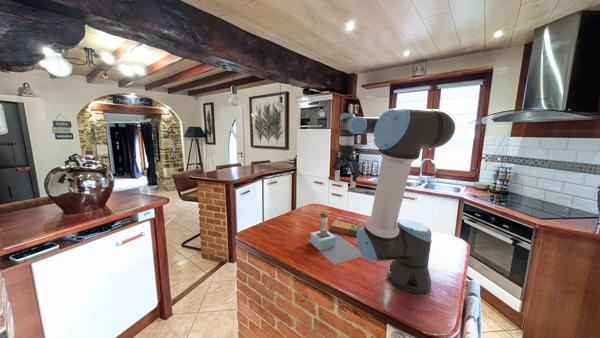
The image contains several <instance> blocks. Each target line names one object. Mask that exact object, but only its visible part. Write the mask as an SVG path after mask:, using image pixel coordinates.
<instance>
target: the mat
mask: <svg viewBox="0 0 600 338" xmlns="http://www.w3.org/2000/svg"><path fill="white" fill-rule="evenodd" d="M332 234H333V235H334V236H335V237H336V246H335V247H331V248H328V249H324V250H319V249H318V248H316V247H315V246H314V245H313V244H312V243H311V238H310V239H307V241H308V242H309V243H310V244H311V245H312V246H313V247H314V248H315V249H316V250H317V251H318V252H320V254H322V255H323V256H324V257H325V258H326V259H327V260H328V261H329V262H330V263H331V264H332V265H333V266H337V265H338V264H342V263H345V262H348V261H351V260H352V261H353V260H355V259H358V258H363V256H362V254H361V252H360V250H359V248H358V247H355V245H353V244H352V243H350V242H349V241H348V240H346V239H344V238H343V237H342V236H341V235H339V234H338V233H337V232H334V233H332Z"/></svg>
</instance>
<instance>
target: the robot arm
mask: <svg viewBox="0 0 600 338" xmlns="http://www.w3.org/2000/svg"><path fill="white" fill-rule="evenodd" d="M455 131H456V122H455V120H454V118H453V116H452V115H451V114H449V112H446V111H444V110H441V109H436V108H411V107H410V108H408V107H407V108H405V107H400V108H389V109H387V110H385V111H384V112H382V114H380V116H379V117H375V116H374V117H373V116H372V117H369V116H368V117H367V116H366V117H365V116H356V115H355V114H354V113H344V114H343V113H341V114H340V117H339V139H338V140H339V141H338V144H339V145H338V152H337V153H335V159H334V161H333V164H332V169H333V170H334V183H340V177H341V176H340V174H341V167H342V166H343V164H344V163H345V164H346V165H348V168H349V171H350V172H351V174H350V186H349V187H350V189H353V188H354V189H355V188H356V186H357V185H356V184H357V183H356V182H357V181H358V180H357V179H358V178H357V177H358V175H361V171H360V167H359V163H358V159H357V154H354V155H353V153H354V148H355V147H354V144H355V135H359V134H370V135H371V134H373V138H374V139H373V141H374V145H375V146H376V147H377V148H378V153H379V155H380V156H381V162H380V168H379V173H378V178H377V183H376V187H375V188H376V189H375V192H374V199H373V203H372V209H371V214H370V217H369V218H367V219H366V220H365V221H364V222H365V223H364V227H361V228H359V229H358V230H357V236H356V243H357V245H358V247H357V248H358V249H359V250H360V252H361V254H362V258H363V259H364V260H365V261H368V262H380V261H381V262H384V261H391V263H390V265H389V267H388V270H387V278H388V280H389V282H390V283H391V284H393V286H395V287H396V288H397V289H400V290H401V291H404V292H406V293H409V294H414V295H422V294H423V295H424V294H427V293H429V292H430V291H431V290H432V283H433V282H432V278H431V274H430V270H429V261H430V253H431V246H432V242H433V241H432V231H431V230H430V228H429V227H427V226H426V225H424V224H422V223H420V222H416V221H413V220H408V219H399V217H400V216H399V215H400V213H401V208H402V203H403V199H404V195H405V190H406V186H407V183H408V181H409V175H410V171H411V167H412V163H413V162H414V161H417V160H418V159H419V158H420V154H421V152H422V150H423V149H424V150H425V149H427V150H428V149H436V148H440V147H442V146H444V145H446V144H447V143H448V142H449V141H451V140H452V138H453V136H454V134H455Z"/></svg>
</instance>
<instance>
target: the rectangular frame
mask: <svg viewBox="0 0 600 338" xmlns="http://www.w3.org/2000/svg"><path fill="white" fill-rule="evenodd" d="M333 234H334V233H331V231H329V230H327V237H326V238H320V230H317V231H313V232H310V239H311V243H312V244H313V245H314V246H315V247H316V248H318V249H319V250H324V249H328V248H331V247H335V246H336V237H335V236H334V235H333ZM311 243H310V244H311ZM312 244H311V245H312ZM313 245H312V246H313ZM314 246H313V247H314ZM315 247H314V248H315ZM316 248H315V249H316ZM319 250H318V251H319Z"/></svg>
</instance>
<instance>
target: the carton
mask: <svg viewBox="0 0 600 338" xmlns="http://www.w3.org/2000/svg"><path fill="white" fill-rule="evenodd" d="M359 228H362V225H359V224H358V225H357V224H354V223H353V224H352V223H348V222H343V221H339V220H334V221H333V223H332V224H331V225H330V232H334V233H337V234H338V233H339V234H344V235H348V236H353V237H357V230H358V229H359Z"/></svg>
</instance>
